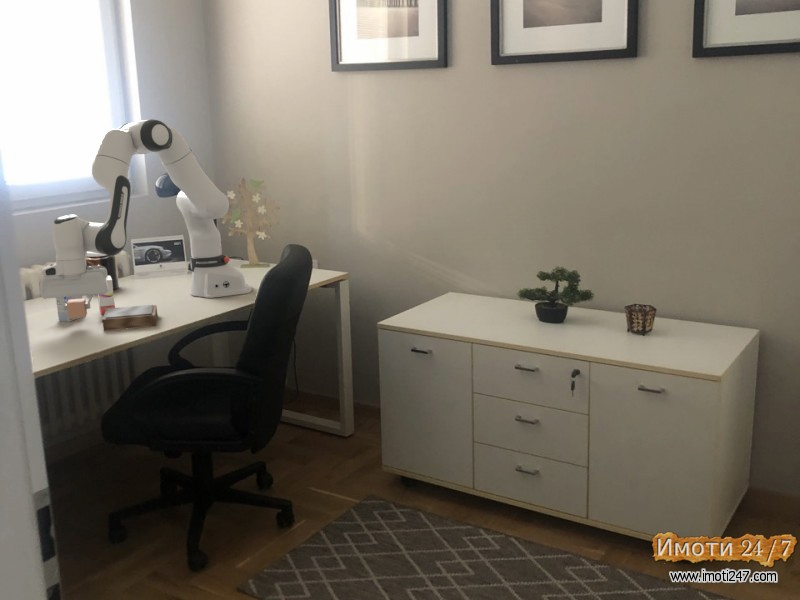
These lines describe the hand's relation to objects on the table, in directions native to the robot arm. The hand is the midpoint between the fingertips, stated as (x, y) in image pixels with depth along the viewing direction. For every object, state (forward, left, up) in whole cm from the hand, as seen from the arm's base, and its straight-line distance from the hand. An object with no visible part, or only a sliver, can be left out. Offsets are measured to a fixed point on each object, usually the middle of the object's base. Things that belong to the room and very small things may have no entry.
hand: (77, 309), depth 270 cm
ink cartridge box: (-7, -20, -6) cm, 22 cm away
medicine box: (+4, -14, -6) cm, 16 cm away
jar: (-2, -57, -6) cm, 57 cm away
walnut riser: (-16, -1, -6) cm, 17 cm away
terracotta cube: (0, 0, -2) cm, 2 cm away
